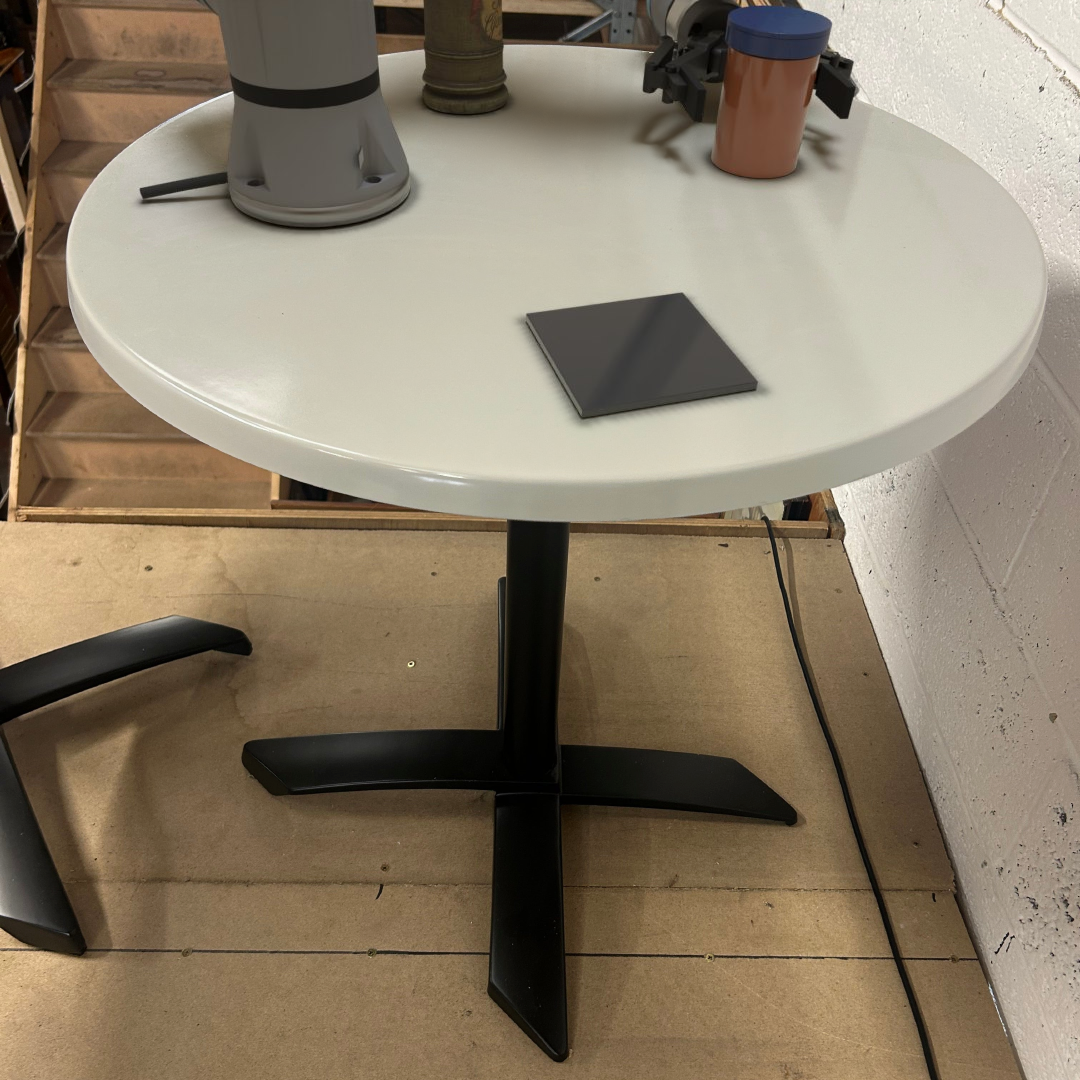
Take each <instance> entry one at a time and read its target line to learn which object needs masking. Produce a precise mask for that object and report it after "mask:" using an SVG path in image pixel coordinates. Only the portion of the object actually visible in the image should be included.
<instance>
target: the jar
mask: <svg viewBox="0 0 1080 1080" xmlns="http://www.w3.org/2000/svg"><path fill="white" fill-rule="evenodd" d="M820 56H821V54H820V55H818V56H814V57H809V58H801V59H777V58H768V57H761V56H756V55H751V54H747V53H744V52H741V51H738V50H736V49H734V48H732V47H730V46H729V45H728V51H727V57H726V64H725V70H724V77H723V82H721V91H720V97H719V104H718V110H717V116H716V123H715V130H714V135H713V142H712V147H711V148H712V149H711V155H710V159H711V162H712V164H713V165H714V166H715V167H717V168H718V169H720V170H722V171H724V172H726V173H729V174H732V175H735V176H738V177H739V176H740V177H743V178H752V179H775V178H781V177H784V176H788V175H790V174H791V173H793V172H794V171H795V170H796V167H797V165H798V160H799V156H800V151H801V148H802V142H803V138H804V133H805V128H806V124H807V119H808V115H809V111H810V106H811V101H812V97H813V93H814V92H813V91H814V89H813V88H814V83H815V79H816V74H817V70H818V65H819V60H820Z"/></svg>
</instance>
